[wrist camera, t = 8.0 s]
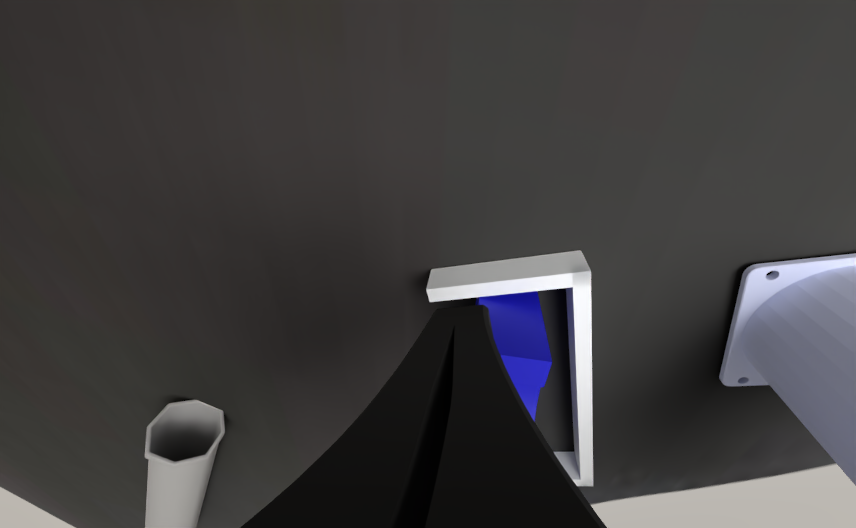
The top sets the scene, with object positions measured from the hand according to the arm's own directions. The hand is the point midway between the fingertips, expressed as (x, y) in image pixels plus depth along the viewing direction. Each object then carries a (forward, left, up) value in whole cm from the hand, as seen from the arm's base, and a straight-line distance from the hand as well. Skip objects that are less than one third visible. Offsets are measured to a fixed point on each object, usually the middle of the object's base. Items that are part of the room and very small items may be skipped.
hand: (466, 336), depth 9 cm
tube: (+33, +23, -10) cm, 41 cm away
